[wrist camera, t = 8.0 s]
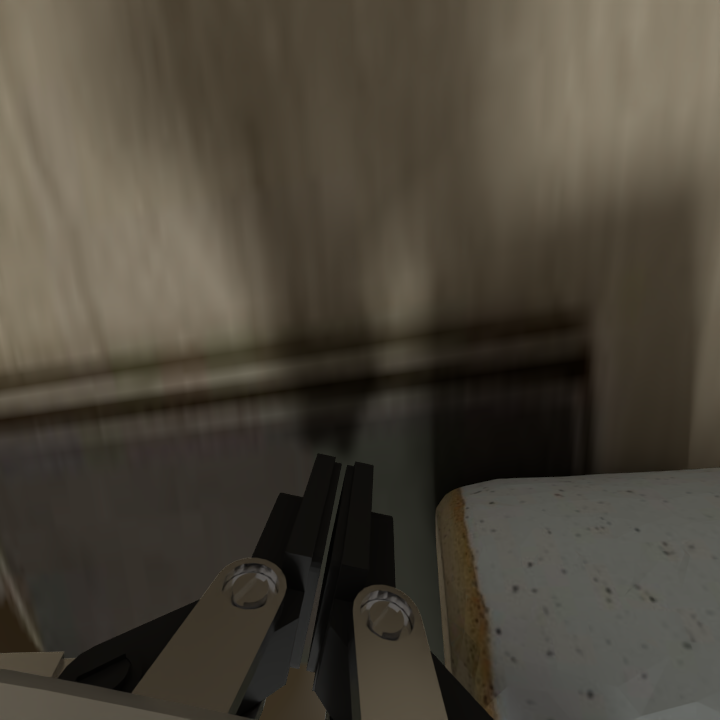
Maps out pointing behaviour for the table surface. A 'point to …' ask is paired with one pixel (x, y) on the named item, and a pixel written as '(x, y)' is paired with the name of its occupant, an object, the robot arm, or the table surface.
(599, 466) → the table surface
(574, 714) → the ceramic mug
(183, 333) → the table surface
